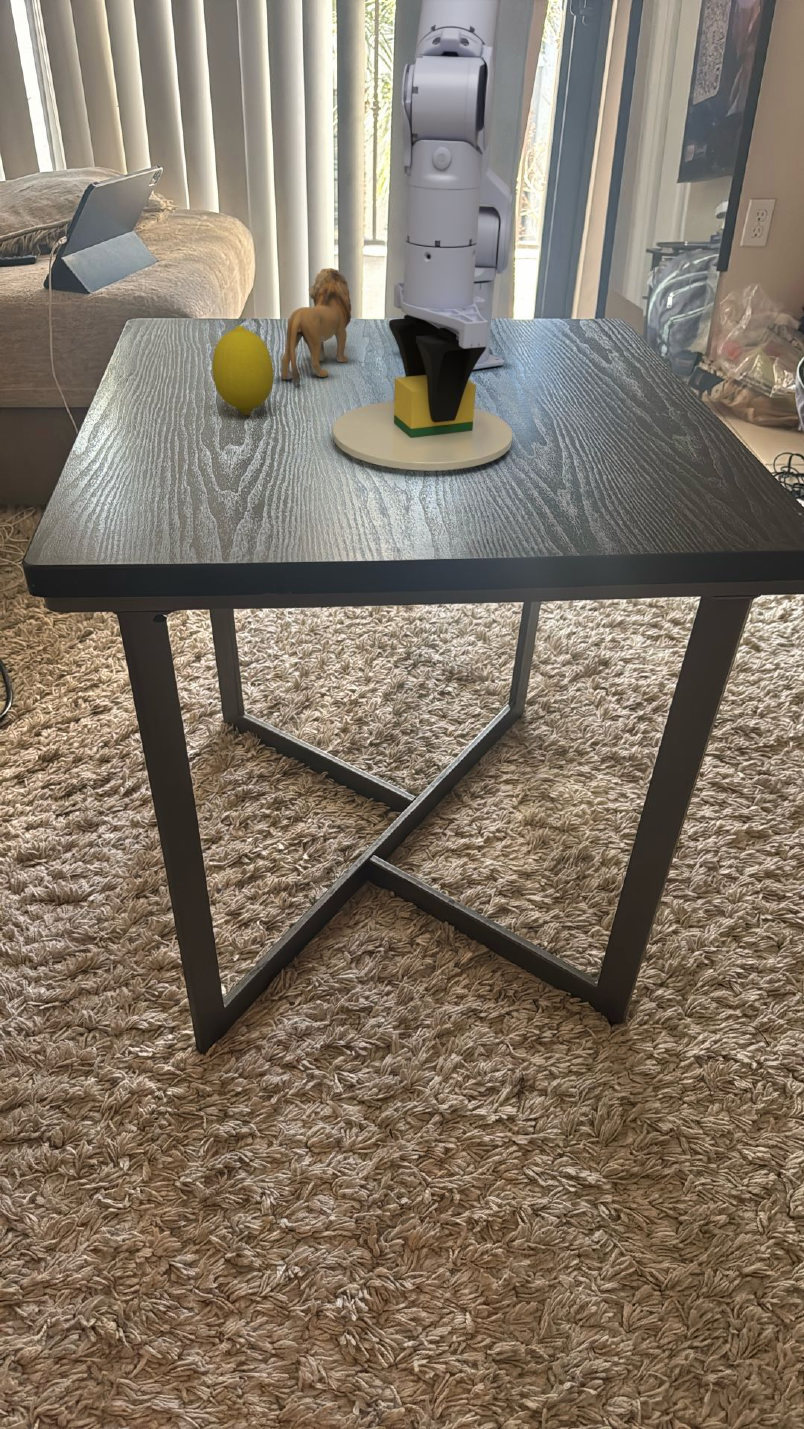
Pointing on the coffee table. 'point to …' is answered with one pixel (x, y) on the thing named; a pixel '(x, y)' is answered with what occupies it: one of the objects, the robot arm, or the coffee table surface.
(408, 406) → the sponge
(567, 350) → the coffee table surface
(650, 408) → the coffee table surface
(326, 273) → the lion figurine
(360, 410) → the plate
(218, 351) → the lemon
